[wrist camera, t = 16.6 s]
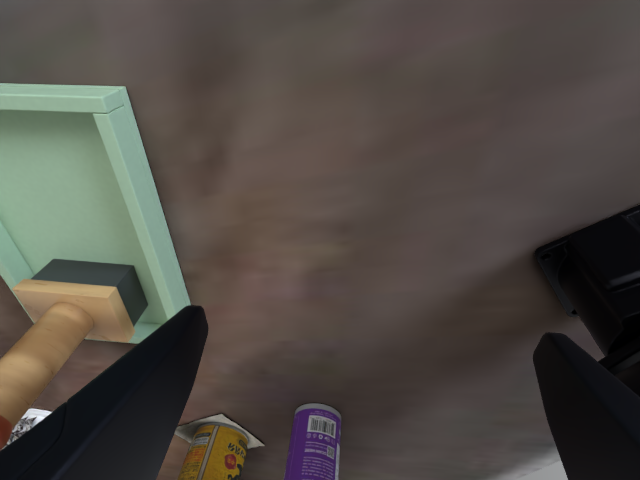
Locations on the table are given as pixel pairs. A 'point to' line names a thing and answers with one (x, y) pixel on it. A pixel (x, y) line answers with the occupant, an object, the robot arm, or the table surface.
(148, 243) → the tray
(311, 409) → the container
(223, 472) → the condiment
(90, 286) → the wooden rubber stamp
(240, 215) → the table surface
